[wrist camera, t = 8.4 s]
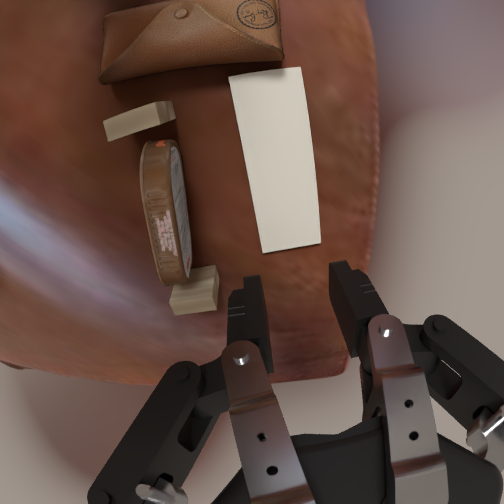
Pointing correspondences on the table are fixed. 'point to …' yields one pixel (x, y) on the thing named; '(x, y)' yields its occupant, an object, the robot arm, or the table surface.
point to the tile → (278, 156)
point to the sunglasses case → (188, 36)
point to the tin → (166, 210)
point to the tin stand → (201, 279)
